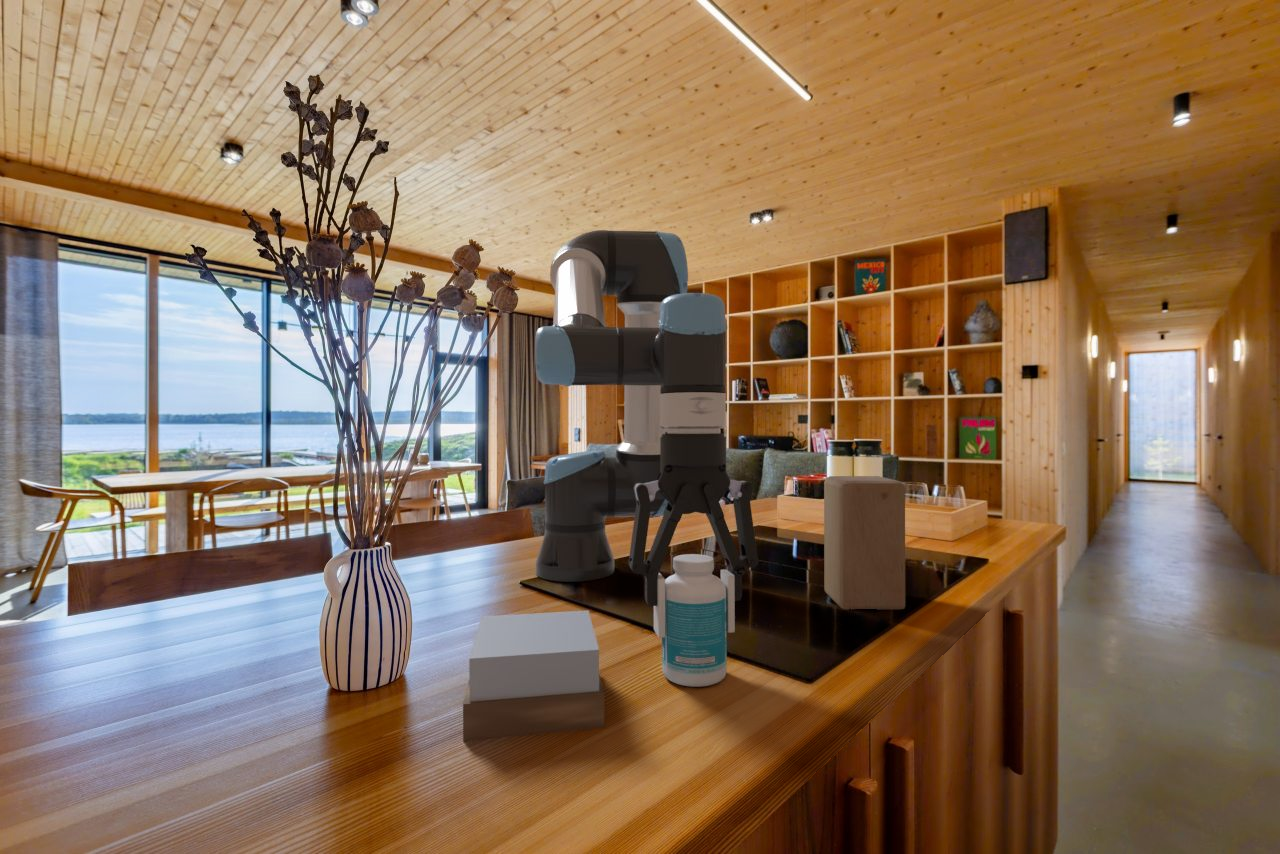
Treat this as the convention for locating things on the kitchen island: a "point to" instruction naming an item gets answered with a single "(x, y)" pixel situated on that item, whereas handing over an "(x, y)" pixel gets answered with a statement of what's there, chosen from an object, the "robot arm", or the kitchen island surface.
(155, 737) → the kitchen island surface
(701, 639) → the pill bottle
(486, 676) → the tower top
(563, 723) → the tower base
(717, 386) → the robot arm
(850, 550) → the wooden block
